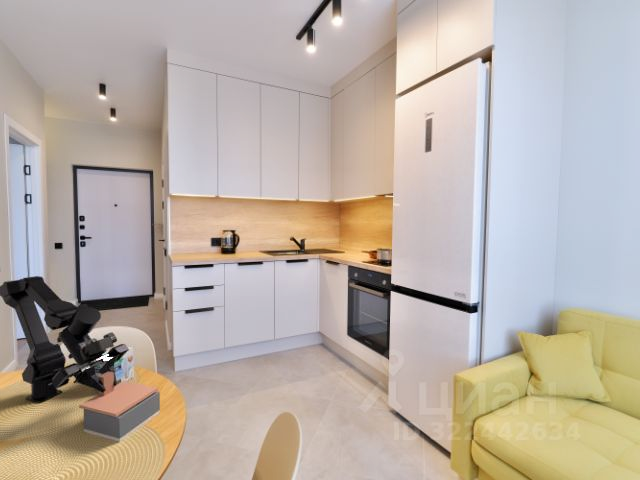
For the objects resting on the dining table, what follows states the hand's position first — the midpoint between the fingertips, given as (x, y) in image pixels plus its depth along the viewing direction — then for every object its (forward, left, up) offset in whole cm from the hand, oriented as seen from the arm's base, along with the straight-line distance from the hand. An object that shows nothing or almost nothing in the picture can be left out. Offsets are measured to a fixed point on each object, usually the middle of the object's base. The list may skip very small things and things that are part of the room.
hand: (110, 388), depth 90 cm
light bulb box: (-16, +15, -9) cm, 24 cm away
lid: (+4, 0, -2) cm, 4 cm away
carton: (+5, 0, -9) cm, 10 cm away
